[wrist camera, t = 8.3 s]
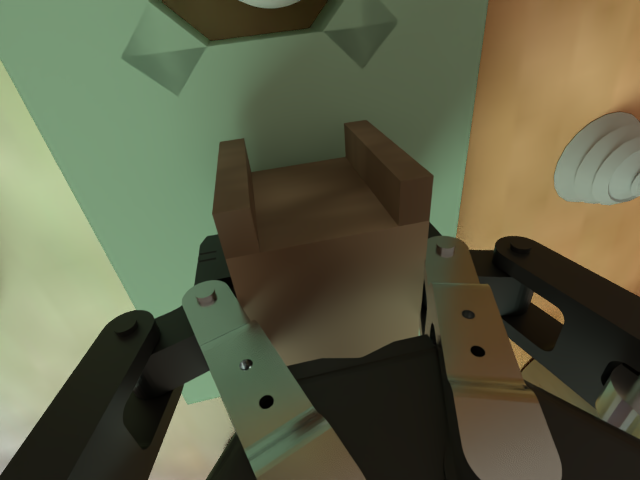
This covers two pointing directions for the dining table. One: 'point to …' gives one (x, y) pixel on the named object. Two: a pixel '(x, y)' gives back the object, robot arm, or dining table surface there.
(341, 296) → the wooden channel cradle
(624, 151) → the chalice
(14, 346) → the dining table surface
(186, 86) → the green
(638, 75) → the dining table surface
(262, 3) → the ball
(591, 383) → the robot arm
